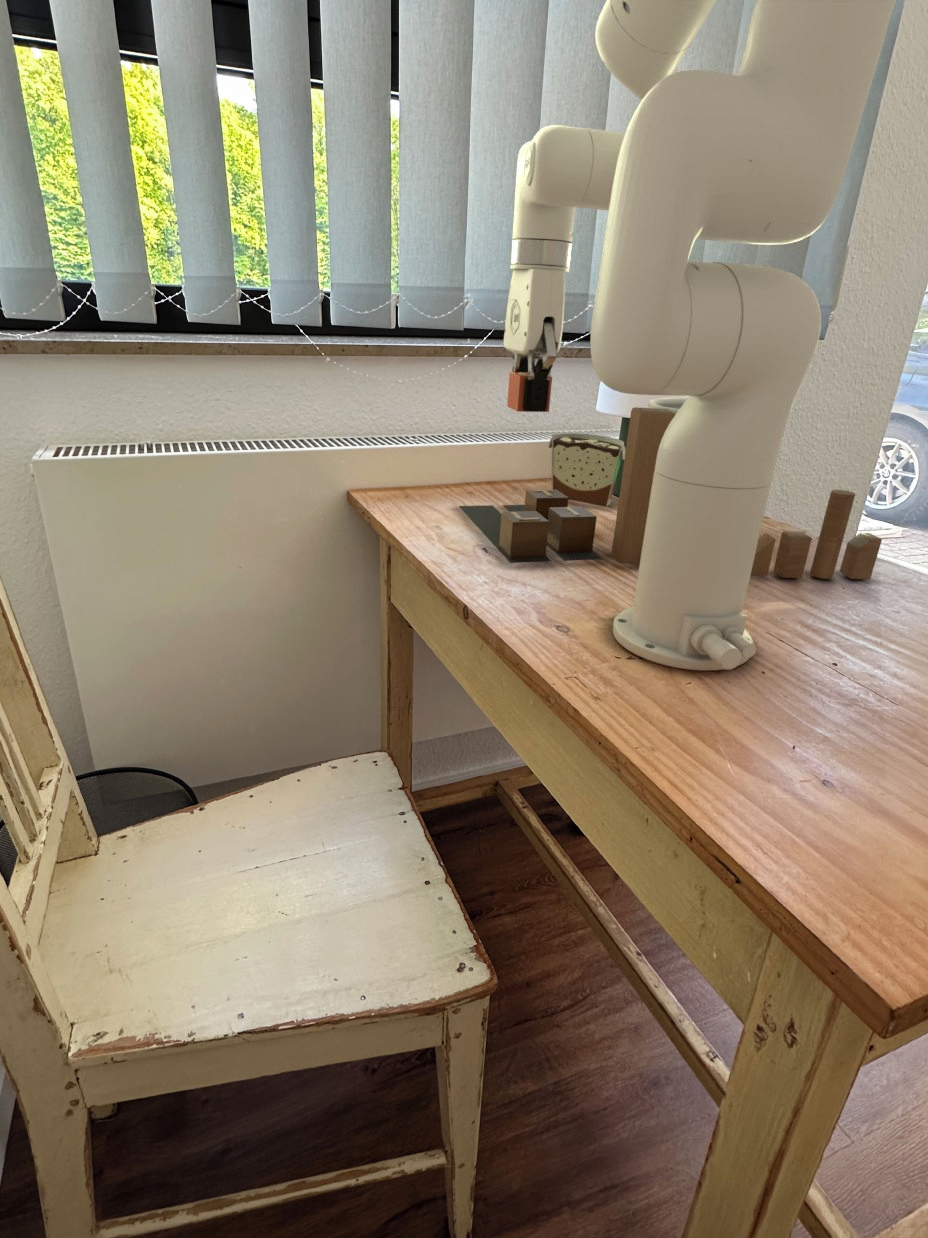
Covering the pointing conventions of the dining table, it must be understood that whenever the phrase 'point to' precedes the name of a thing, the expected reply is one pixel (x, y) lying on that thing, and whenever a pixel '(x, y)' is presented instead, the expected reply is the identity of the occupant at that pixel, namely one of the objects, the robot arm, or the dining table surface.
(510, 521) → the box with white label
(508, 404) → the letter S
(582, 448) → the food container
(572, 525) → the slotted brown box
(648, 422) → the wooden block
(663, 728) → the dining table surface
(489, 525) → the flat dark green strips
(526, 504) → the letter T
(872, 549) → the wood blocks
